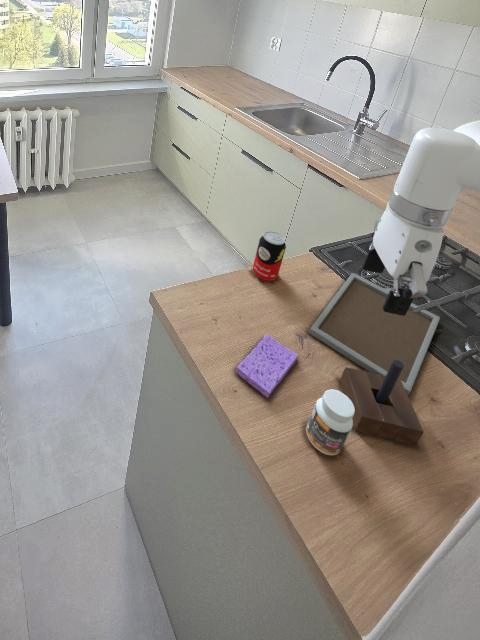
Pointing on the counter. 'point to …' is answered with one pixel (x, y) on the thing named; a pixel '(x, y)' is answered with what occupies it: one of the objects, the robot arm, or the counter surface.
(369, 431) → the dock
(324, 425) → the pill bottle
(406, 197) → the robot arm
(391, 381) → the peg
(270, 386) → the sponge
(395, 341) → the grey-rimmed serving tray
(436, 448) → the counter surface
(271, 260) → the beverage can
